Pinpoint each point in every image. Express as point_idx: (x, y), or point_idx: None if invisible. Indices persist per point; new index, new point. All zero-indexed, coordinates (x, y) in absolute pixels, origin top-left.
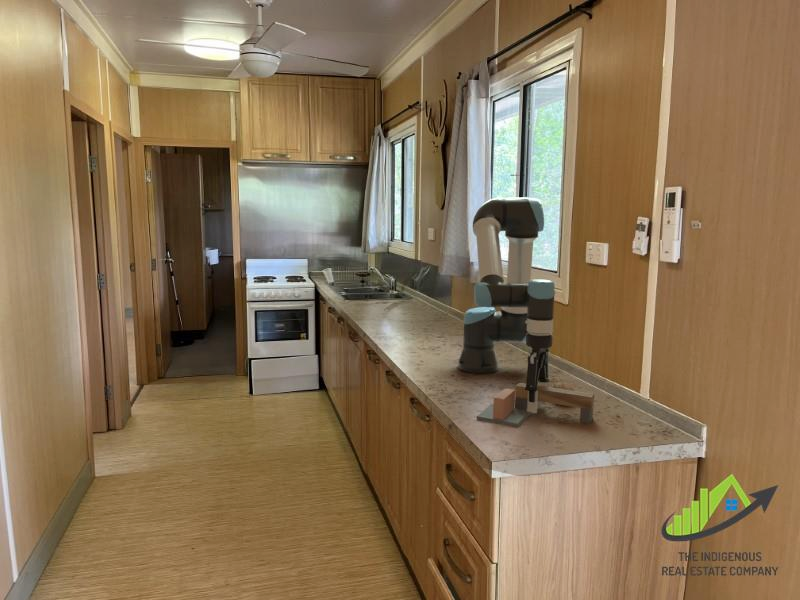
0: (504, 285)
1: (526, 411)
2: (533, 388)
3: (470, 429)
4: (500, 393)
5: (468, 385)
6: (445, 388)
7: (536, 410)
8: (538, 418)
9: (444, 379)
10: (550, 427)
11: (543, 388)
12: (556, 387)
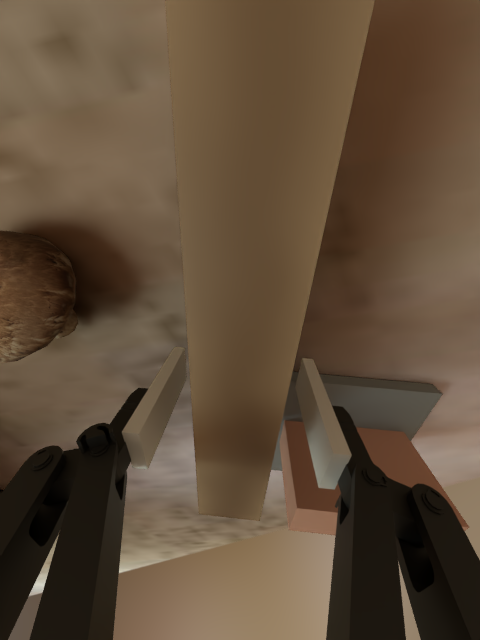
0: None
1: (292, 388)
2: (453, 517)
3: (462, 470)
4: None
5: (126, 506)
6: (179, 529)
7: (314, 366)
8: (315, 339)
9: (123, 535)
10: (418, 280)
11: (244, 429)
12: (23, 347)
